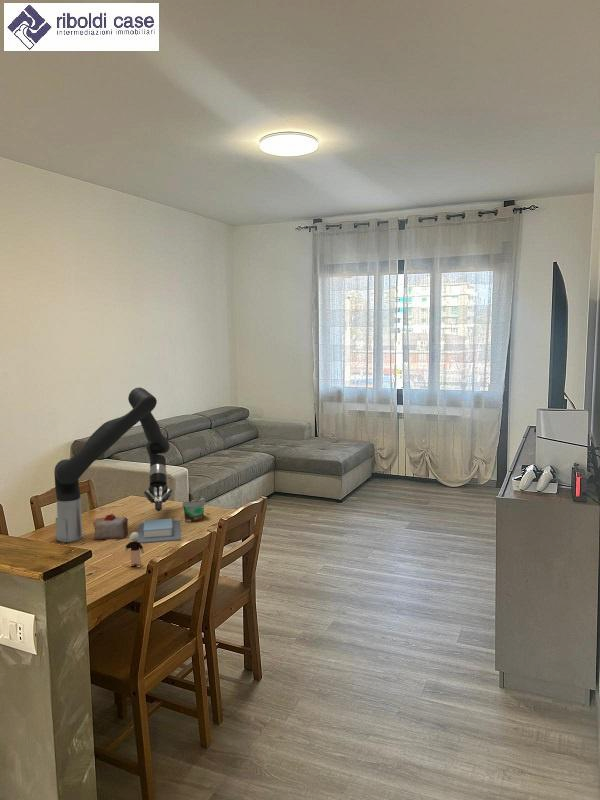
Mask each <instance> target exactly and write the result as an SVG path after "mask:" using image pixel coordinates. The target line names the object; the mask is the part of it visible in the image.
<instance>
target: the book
mask: <svg viewBox="0 0 600 800" xmlns="http://www.w3.org/2000/svg"><path fill="white" fill-rule="evenodd" d="M173 521H174V519H173V518H172V517H171V518H157V519H156V518H155V519H145V520H144V522H143V523H144V529H143V531H144V539H145V538H158V537H171V536H173Z"/></svg>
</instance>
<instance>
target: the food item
mask: <svg viewBox="0 0 600 800" xmlns="http://www.w3.org/2000/svg"><path fill="white" fill-rule="evenodd" d="M92 523H93V527H94V539H95V540H96V539H100V540H108V539H119V540H120V539H126V538H127V536H128V535H129V527H128V523H129V522H128V517H121V516H120V517H116V516H115V515H114V513H111V514H106V516H105V517H100V518H99V517H98V518H96V519H95V520H94V521H93V522H92Z"/></svg>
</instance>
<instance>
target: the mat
mask: <svg viewBox="0 0 600 800" xmlns="http://www.w3.org/2000/svg"><path fill="white" fill-rule="evenodd" d="M143 529H144V522H139V523H138V528H137V533H138V535H139V536H138V540H137V541H136V542H139V543H140V544H141V543H142V544H151V543H152V544H153V543H162V542H163V543H165V542H167V543H168V542H176V541H182V532H181V531H182V530H181V520H180V519H177V520H173V536H171V537H158V538H145V539H144V531H143ZM142 544H141V545H142Z"/></svg>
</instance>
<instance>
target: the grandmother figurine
mask: <svg viewBox="0 0 600 800" xmlns="http://www.w3.org/2000/svg"><path fill="white" fill-rule="evenodd" d="M138 536H139V535H138V531H137V532H136V531H134V532H132V533H131V534H130V535H129V537H128V539H129V540H131V541H130V542H129V543H126V545H125V549H124V551H125V552H128V550H130V563H131V565H130V567H131V566H135V565H136V566H141V567H143V566H144V564H143V563H142V559H141V558H142V557H141V554H145V551H144V547H143V544H140V543H139V542H136V541H137V540H138ZM142 565H143V566H142ZM136 566H135V567H136Z"/></svg>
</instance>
